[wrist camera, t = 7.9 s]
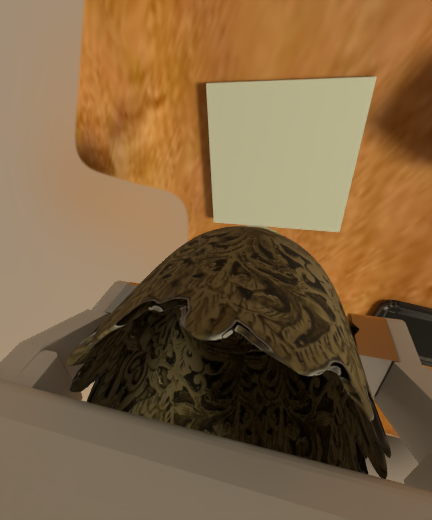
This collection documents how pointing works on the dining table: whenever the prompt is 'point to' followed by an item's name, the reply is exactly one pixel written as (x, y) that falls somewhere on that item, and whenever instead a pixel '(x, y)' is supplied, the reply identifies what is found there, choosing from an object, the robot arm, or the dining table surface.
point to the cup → (240, 351)
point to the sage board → (285, 149)
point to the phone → (412, 325)
